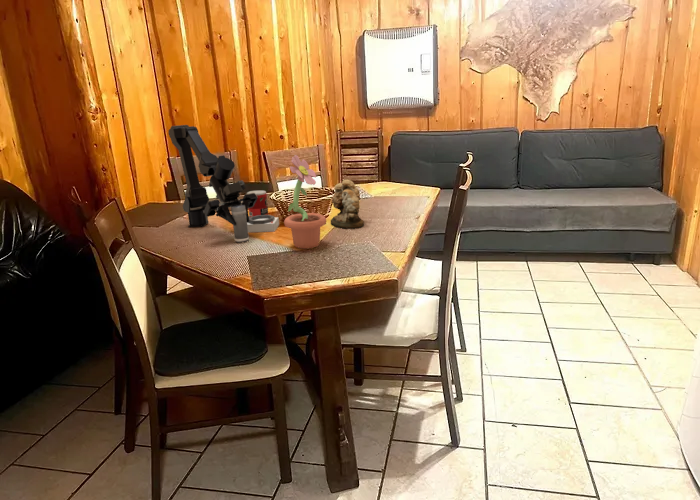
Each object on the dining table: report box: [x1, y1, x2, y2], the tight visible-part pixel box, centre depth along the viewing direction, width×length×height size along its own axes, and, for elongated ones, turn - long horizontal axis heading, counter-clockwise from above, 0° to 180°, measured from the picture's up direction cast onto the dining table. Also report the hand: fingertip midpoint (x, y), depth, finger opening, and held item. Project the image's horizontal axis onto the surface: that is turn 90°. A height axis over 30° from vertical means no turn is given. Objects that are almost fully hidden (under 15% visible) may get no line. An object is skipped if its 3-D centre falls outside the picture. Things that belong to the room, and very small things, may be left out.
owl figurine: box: [330, 179, 365, 230], centre depth 190 cm, size 18×12×17 cm, turn 26°
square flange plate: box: [247, 214, 280, 233], centre depth 190 cm, size 13×10×4 cm
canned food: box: [246, 189, 269, 217], centre depth 206 cm, size 8×8×11 cm
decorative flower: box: [283, 154, 327, 249], centre depth 162 cm, size 15×14×30 cm
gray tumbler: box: [230, 205, 250, 244], centre depth 174 cm, size 5×5×13 cm
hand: (241, 223), depth 173 cm, fingers closed on gray tumbler, 5 cm apart
